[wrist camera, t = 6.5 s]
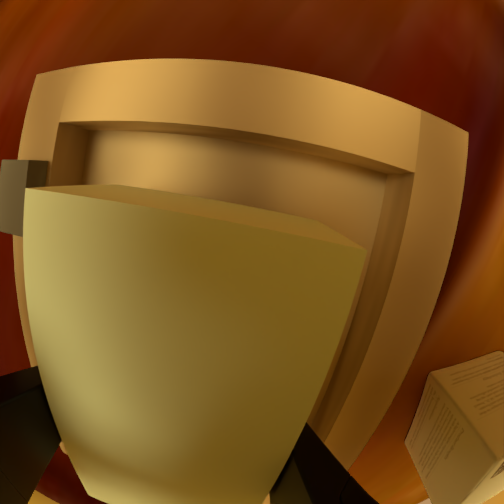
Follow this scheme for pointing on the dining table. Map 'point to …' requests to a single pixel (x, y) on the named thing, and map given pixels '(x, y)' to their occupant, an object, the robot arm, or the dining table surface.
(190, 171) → the carcass
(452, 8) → the dining table surface
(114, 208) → the cream rectangular block
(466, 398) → the skincare box
